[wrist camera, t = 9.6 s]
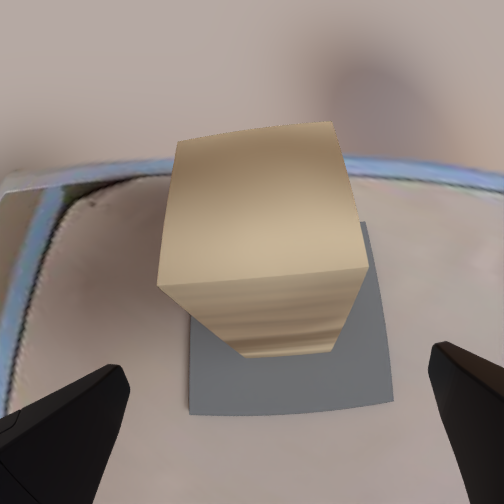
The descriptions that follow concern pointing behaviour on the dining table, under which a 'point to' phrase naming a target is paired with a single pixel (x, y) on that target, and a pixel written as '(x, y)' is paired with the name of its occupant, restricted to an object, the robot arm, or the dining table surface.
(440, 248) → the dining table surface
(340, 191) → the beech block
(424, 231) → the dining table surface
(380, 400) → the charcoal mat
